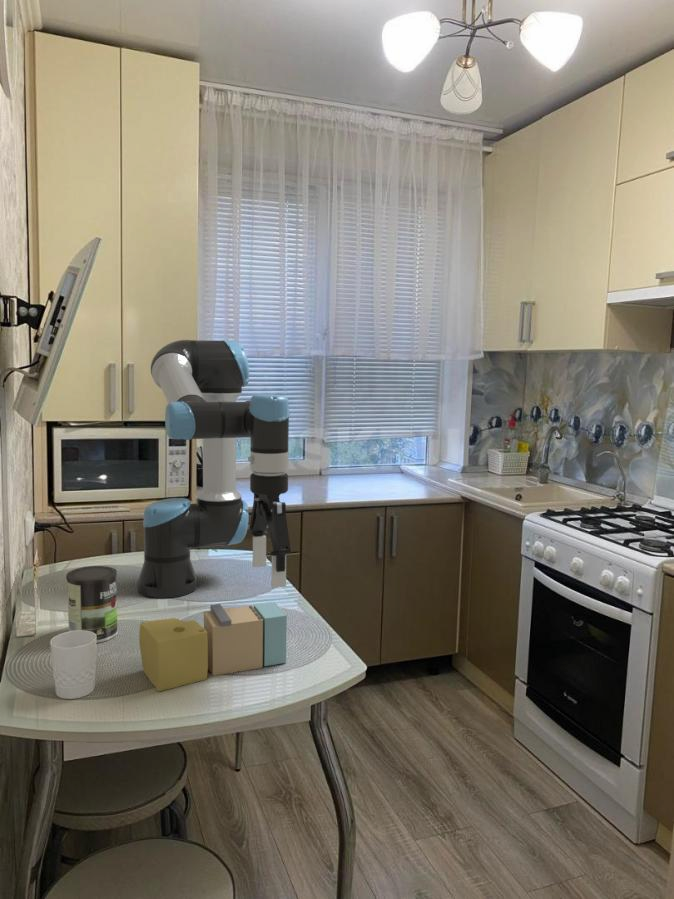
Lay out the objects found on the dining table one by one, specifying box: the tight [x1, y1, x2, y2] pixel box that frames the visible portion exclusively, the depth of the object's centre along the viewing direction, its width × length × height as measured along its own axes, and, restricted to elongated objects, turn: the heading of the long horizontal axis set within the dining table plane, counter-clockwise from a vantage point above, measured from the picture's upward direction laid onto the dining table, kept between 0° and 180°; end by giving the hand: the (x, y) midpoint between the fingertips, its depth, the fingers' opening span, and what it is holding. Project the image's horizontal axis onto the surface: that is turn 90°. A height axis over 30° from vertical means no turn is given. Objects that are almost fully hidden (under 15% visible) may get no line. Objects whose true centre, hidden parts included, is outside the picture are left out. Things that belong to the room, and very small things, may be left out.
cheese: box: [138, 617, 209, 692], centre depth 131 cm, size 10×11×10 cm
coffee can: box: [65, 565, 119, 644], centre depth 148 cm, size 10×10×14 cm
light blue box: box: [253, 601, 288, 667], centre depth 140 cm, size 8×4×10 cm, turn 23°
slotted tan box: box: [203, 603, 263, 677], centre depth 137 cm, size 9×10×11 cm
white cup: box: [49, 630, 98, 700], centre depth 124 cm, size 8×8×10 cm
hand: (268, 576), depth 138 cm, fingers open, 13 cm apart
